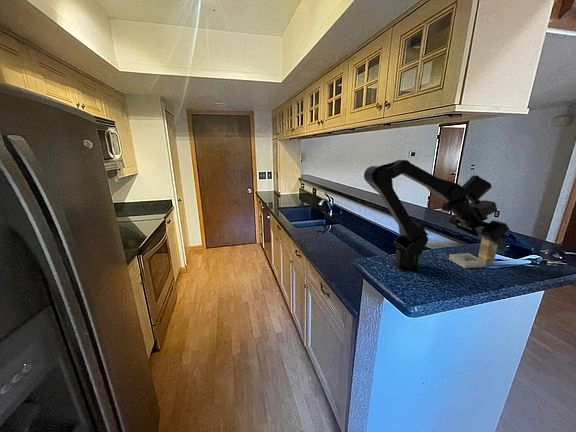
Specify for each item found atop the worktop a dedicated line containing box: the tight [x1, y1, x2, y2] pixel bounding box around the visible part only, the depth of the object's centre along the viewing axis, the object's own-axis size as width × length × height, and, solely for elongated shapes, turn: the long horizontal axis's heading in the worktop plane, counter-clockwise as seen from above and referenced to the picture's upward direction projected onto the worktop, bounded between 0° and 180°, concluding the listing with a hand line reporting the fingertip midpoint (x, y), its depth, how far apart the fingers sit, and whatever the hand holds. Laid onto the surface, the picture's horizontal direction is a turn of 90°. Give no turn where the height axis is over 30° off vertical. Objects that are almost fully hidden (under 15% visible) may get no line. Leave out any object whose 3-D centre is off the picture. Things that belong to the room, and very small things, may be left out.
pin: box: [477, 235, 498, 266], centre depth 85 cm, size 3×3×14 cm
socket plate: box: [448, 252, 487, 269], centre depth 86 cm, size 8×8×2 cm
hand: (488, 239), depth 85 cm, fingers open, 9 cm apart
